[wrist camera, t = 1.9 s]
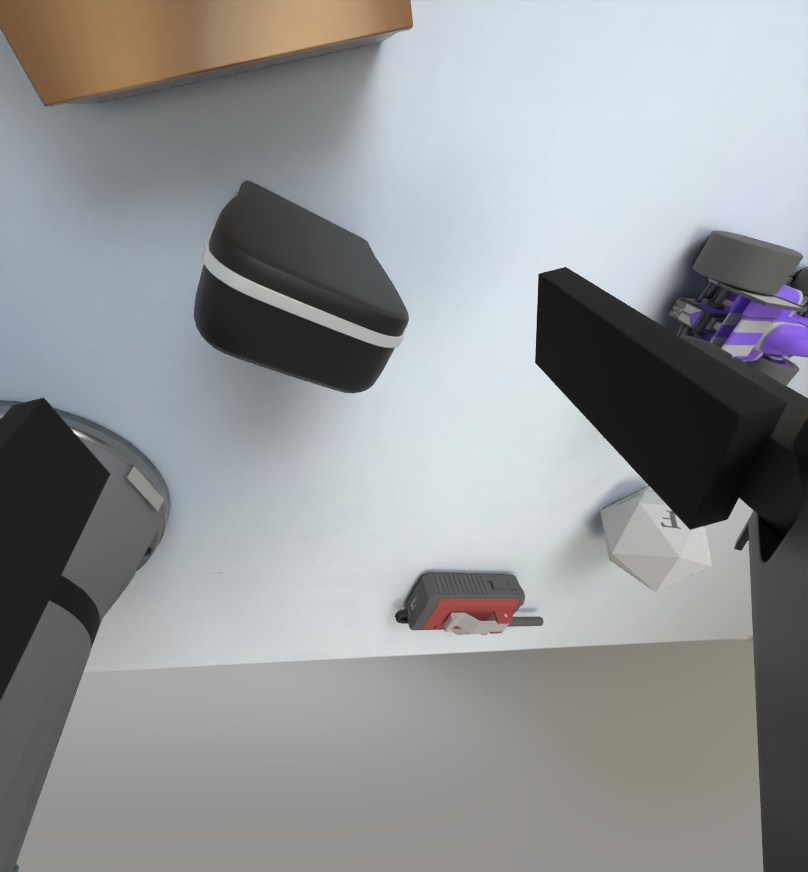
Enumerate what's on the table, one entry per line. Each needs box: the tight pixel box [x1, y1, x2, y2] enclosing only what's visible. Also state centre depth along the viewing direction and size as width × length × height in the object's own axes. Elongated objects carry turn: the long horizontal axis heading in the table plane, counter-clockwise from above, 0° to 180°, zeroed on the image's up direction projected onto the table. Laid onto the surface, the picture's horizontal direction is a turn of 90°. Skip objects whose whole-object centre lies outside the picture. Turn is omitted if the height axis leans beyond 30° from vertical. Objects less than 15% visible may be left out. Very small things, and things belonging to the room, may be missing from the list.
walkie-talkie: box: [395, 573, 543, 635], centre depth 46 cm, size 9×4×20 cm
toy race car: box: [669, 231, 808, 386], centre depth 28 cm, size 10×15×6 cm, turn 79°
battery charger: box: [194, 181, 409, 393], centre depth 18 cm, size 7×4×11 cm, turn 62°
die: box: [600, 486, 712, 592], centre depth 40 cm, size 8×9×10 cm
